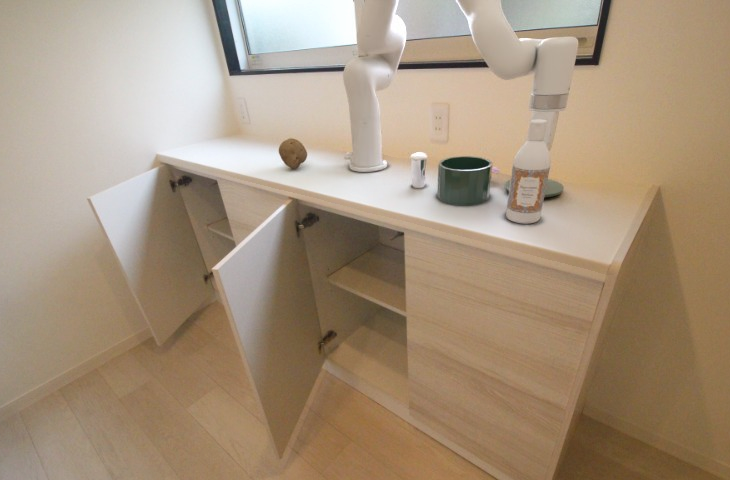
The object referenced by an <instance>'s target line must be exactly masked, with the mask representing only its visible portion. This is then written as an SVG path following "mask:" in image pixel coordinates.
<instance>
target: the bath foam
mask: <svg viewBox="0 0 730 480" xmlns="http://www.w3.org/2000/svg"><path fill="white" fill-rule="evenodd" d="M530 121H531V122H529V125H530V127H529V126H528V130H529V134H528V133H527V135H528V140H527V139H526V141H525V142H524V144H523V145H522V146H521V147H520V148H519V150H518V151H517V153H516V155H515V156H514V159H513V163H512V167H511V176H510V180H511V182H510V189H509V191H508V197H507V203H506V211H505V217H506V218H507V220H509V221H511V222H513V223H517V224H525V225H526V224H527V225H529V224H534V223H537V222H538V221H540V219H541V216H542V215H541V214H542V211H543V205H544V199H545V197H544V195H545V190H546V185H547V180H548V179H549V175H550V169H551V162H552V159H551V154H550V151H549V150H548V148H547V146H546V144H545V142H544V136H545V131H546V126H547V120H542V119H536V120H531V119H530Z"/></svg>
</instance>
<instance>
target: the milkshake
mask: <svg viewBox="0 0 730 480" xmlns="http://www.w3.org/2000/svg"><path fill="white" fill-rule="evenodd" d="M407 153H408V156H409V161H410V171H411V184H412V188H414V189H422V188H424V187H425V184H426V174H427V164H428V155H427V153H425V152H423V151H417V152H415V153H412V154H411V155H410V154H409V152H407Z"/></svg>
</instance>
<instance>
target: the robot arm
mask: <svg viewBox="0 0 730 480" xmlns="http://www.w3.org/2000/svg"><path fill="white" fill-rule="evenodd" d="M455 2H456V3H457V5H458V6H459V8H460V10H461V11H462V13H463V14H464V16H465V18H466V19H467V21H468V22H467V23H468V27H469V31H470V34H471V38H472V40H473V43H474V45H475V47H476V50H477V51H478V53H479V54H480V56H481V57H482V59H483V60H484V62H485V64H486V65H487V67H488V68H489V69H490V71H491V72H492V74H494V75H495V77H497V78H499V79H501V80H505V81H509V80H510V81H511V80H516V79H518V78H522V77H526V76H531V75H533V81H532V87H531V94H530V101H529V105H528V106H529V108H528V110H529V111H531V112H532V114H531V117H530V120H529V121H530V122H531V120H536V119H542V120H547V126H546V131H545V136H544V142H545V144H546V146H547V148H548V150H549V152H551V149H552V146H553V143H554V139H555V134H556V131H557V126H558V120H559V115H560V112H562V111H566V109H567V105H568V99H569V95H570V91H571V85H572V80H573V74H574V71H575V64H576V59H577V54H578V49H579V40H578V38H577V37H575V36H556V37H547V38H545V39H541V38H530V37H526V38H523V37H522V38H519V37H518V36H517V34H516V32H515V31H514V29H513V28H512V26H511V24H510V23H509V21H508V19H507V17H506V15H505V13H504V9H503V8H502V0H455ZM398 5H399V0H363V5H362V10H361V14H360V19H359V24H358V27H357V33H356V44H357V47H358V49H359V50H360V51H361V52H362V53H364V54H367V55H368V56H366V55H365V56H360V57H359V56H358V57H355V58H352V59H351V60H349V61H348V62H347V63H346V64H345V67H344V69H343V72H342V78H343V79H342V80H343V85H344V88H345V89H344V90H345V92H346V93H345V94H346V96H347V102H348V111H349V121H350V122H349V123H350V135H351V145H352V147H351V148H352V152H350V151H347V152H345V154H344V160H349V161H350V163H349V166H348V167H349V170H351V171H353V172H359V173H370V172H377V171H381V170H384V169H386V168H387V167H388V161H387V160H385V159H383V141H382V140H383V139H382V117H381V105H380V102H379V99H378V96H377V93H376V92H379V91H384V90H385V89H388V88H389V87H390V86H391V85H392V83H393V82H394V80H395V78H396V75H397V70H398V68H399V65H400V61H401V58H402V55H403V52H404V49H405V46H406V42H407V29H406V24H405V23H404V21H403V19H402V18H401V17H400V16H398V15H397V14H396V12H397V8H398ZM530 122H529V123H530ZM529 127H530V124H529V125H528V128H529ZM528 134H529V129H528V132H527V136H526V141H527V140H528Z"/></svg>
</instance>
